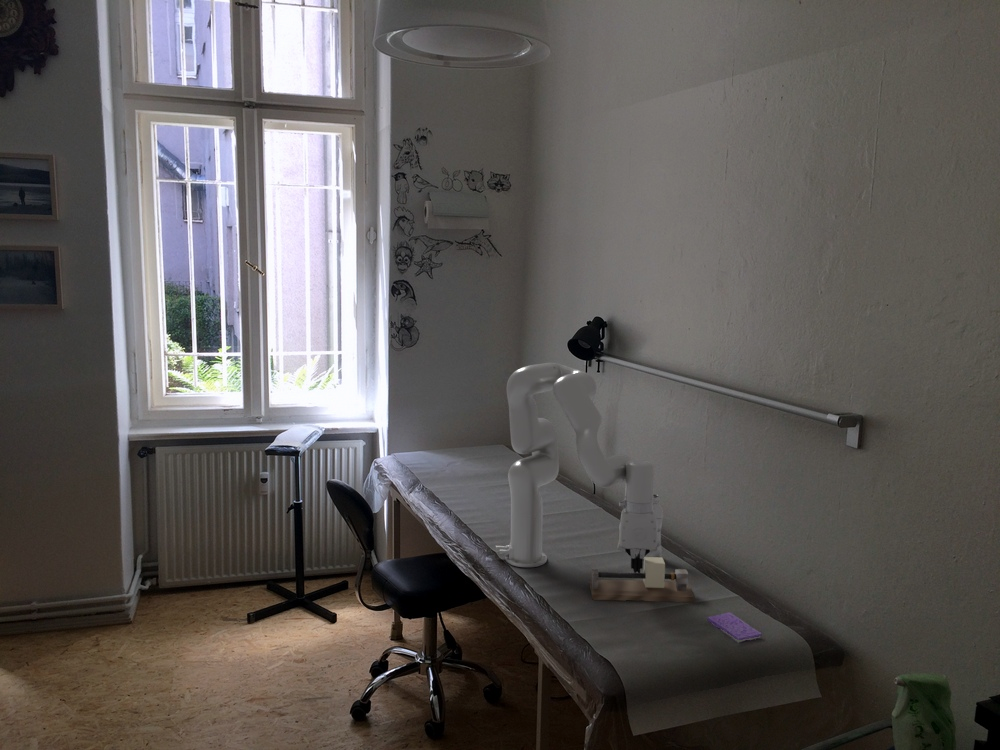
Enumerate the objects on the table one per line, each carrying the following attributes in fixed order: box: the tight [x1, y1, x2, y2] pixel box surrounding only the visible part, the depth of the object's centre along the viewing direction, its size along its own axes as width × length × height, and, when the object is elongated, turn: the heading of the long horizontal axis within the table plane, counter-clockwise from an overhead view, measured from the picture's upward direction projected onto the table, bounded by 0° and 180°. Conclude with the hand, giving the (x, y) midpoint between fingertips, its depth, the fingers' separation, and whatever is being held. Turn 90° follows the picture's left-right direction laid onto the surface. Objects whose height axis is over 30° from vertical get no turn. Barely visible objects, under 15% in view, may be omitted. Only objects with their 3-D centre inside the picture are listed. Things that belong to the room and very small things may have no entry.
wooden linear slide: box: [589, 568, 695, 603], centre depth 217 cm, size 27×10×6 cm, turn 88°
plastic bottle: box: [643, 493, 664, 560], centre depth 241 cm, size 6×7×20 cm
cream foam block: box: [642, 556, 666, 588], centre depth 217 cm, size 5×5×7 cm
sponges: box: [707, 612, 762, 640], centre depth 197 cm, size 7×13×2 cm, turn 21°
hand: (636, 570), depth 217 cm, fingers closed
